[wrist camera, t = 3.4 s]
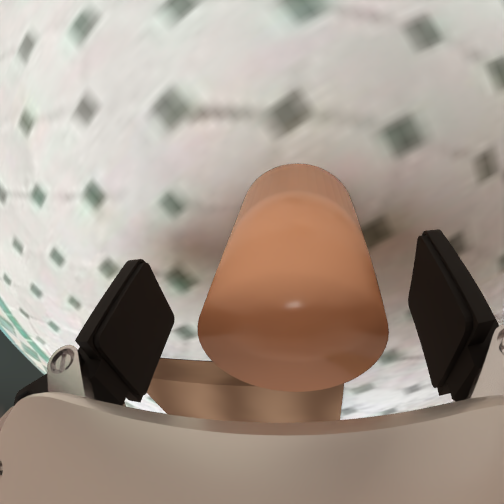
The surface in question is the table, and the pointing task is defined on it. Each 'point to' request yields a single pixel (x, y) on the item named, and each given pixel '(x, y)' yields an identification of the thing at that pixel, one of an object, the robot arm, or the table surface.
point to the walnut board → (235, 396)
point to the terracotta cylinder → (295, 287)
